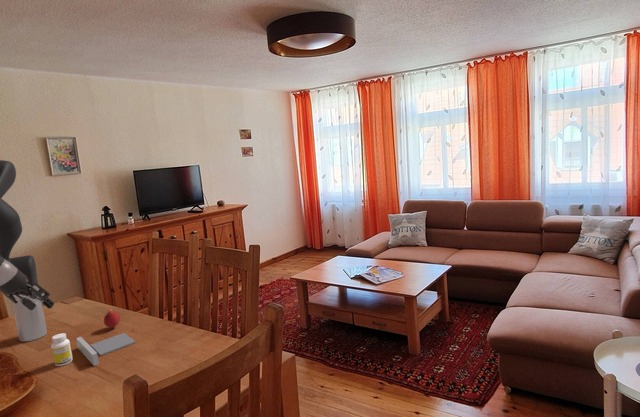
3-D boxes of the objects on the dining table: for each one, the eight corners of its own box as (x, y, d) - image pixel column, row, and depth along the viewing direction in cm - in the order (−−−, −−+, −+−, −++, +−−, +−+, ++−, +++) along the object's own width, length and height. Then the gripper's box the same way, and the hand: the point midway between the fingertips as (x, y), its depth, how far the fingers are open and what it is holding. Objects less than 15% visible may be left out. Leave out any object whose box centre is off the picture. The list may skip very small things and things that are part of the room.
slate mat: (90, 345, 148) (90, 344, 147) (124, 334, 156) (124, 332, 156) (100, 355, 139) (100, 354, 139) (135, 342, 147) (135, 341, 147)
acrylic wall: (78, 348, 146) (76, 338, 146) (82, 346, 147) (80, 336, 147) (94, 366, 132) (92, 354, 132) (99, 364, 133) (97, 353, 133)
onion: (114, 331, 159) (111, 312, 158) (102, 331, 160) (99, 312, 159) (124, 325, 164) (121, 307, 163) (112, 325, 166) (109, 306, 164)
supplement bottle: (60, 359, 139) (55, 333, 137) (76, 357, 139) (71, 331, 138) (51, 367, 133) (46, 340, 132) (67, 365, 134) (63, 338, 132)
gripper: (29, 265, 123) (65, 296, 133) (-2, 269, 127) (35, 299, 137) (11, 284, 117) (50, 315, 127) (-21, 287, 122) (19, 318, 131)
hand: (42, 307), depth 132 cm, fingers open, 8 cm apart
